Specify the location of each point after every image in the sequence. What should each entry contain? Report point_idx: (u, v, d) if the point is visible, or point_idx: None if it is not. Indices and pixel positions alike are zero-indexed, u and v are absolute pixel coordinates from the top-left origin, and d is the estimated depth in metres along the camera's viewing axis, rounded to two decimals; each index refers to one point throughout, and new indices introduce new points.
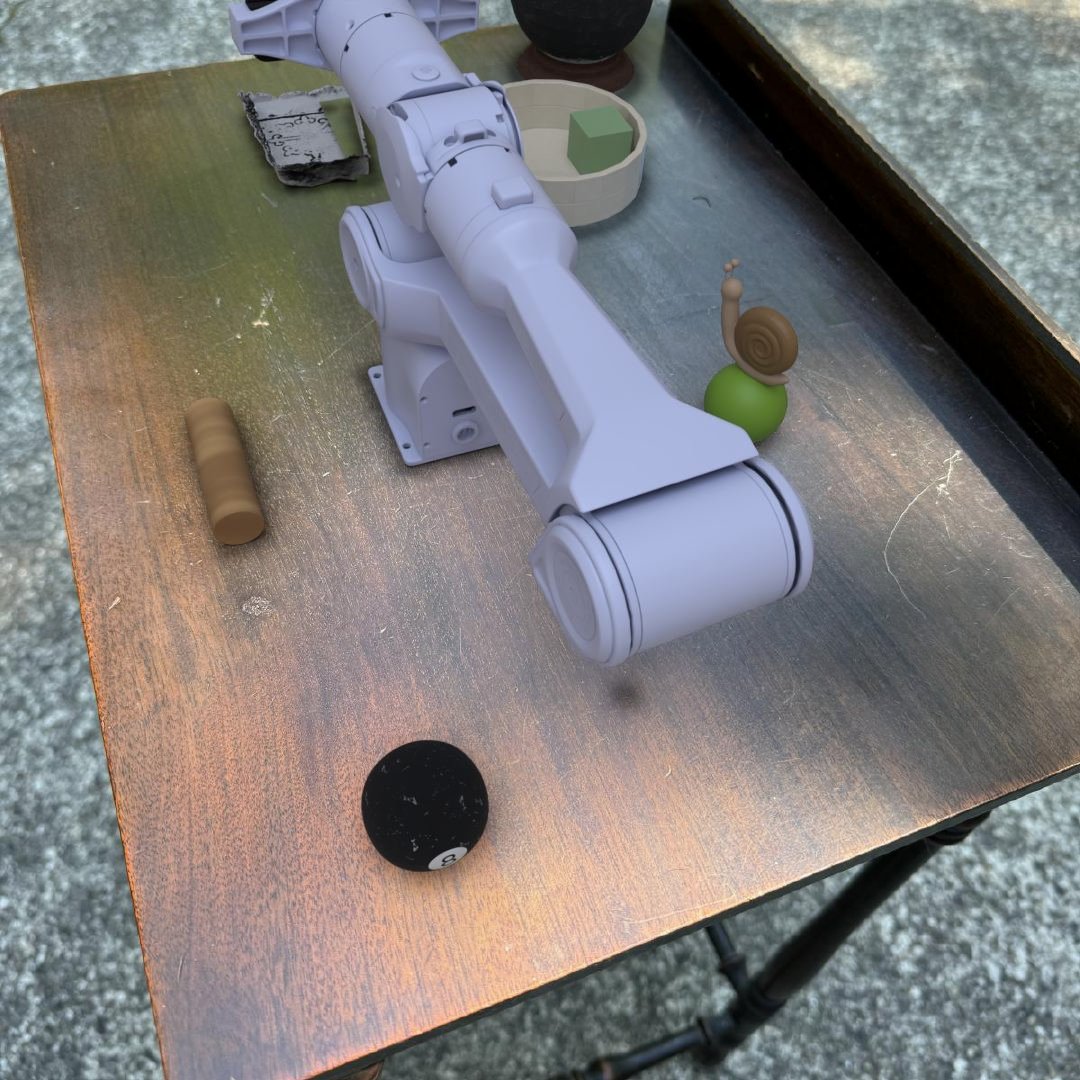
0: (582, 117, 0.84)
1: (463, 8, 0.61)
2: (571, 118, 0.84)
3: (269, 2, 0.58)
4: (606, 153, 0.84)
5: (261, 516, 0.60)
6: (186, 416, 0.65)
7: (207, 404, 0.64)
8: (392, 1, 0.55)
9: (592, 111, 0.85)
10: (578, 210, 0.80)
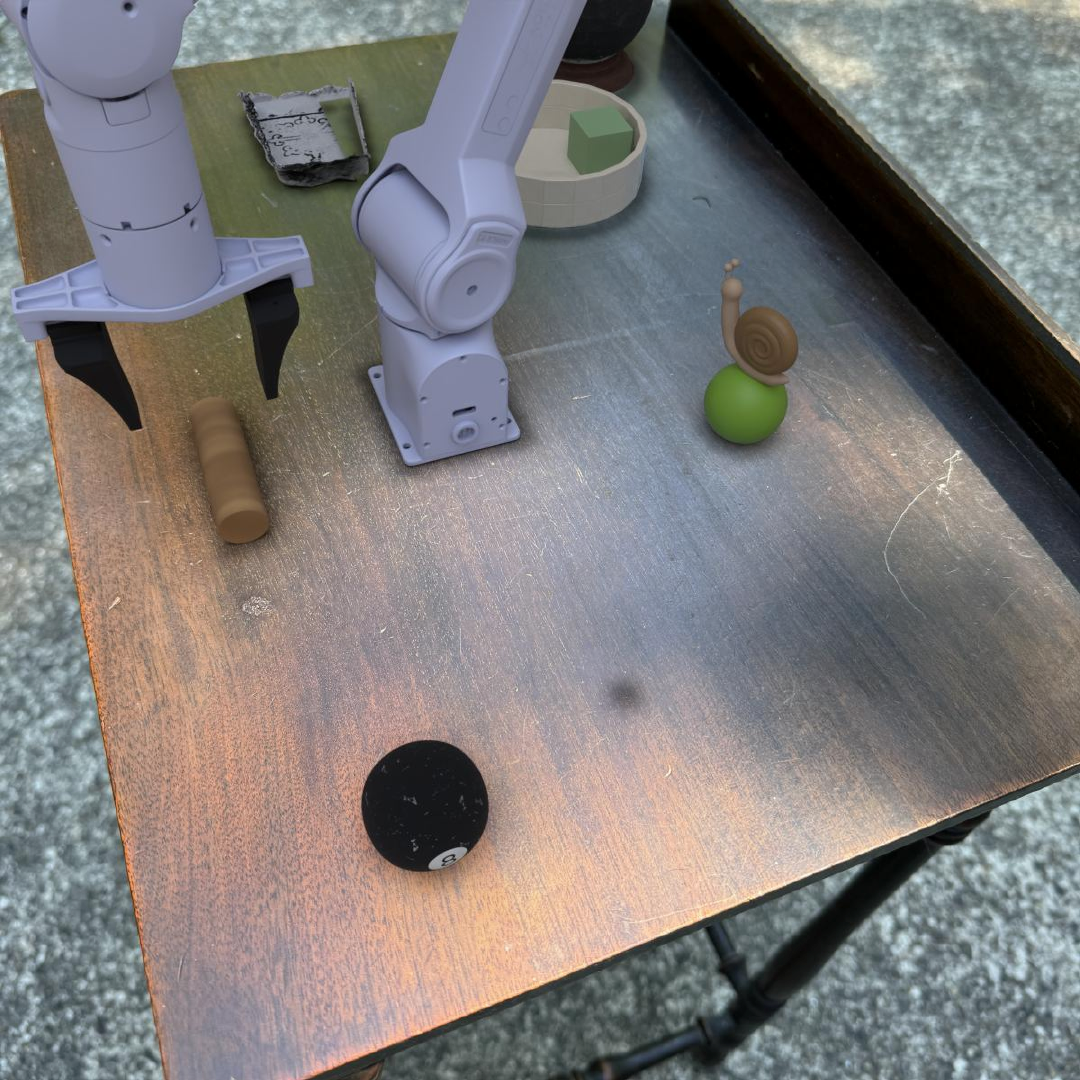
0: (582, 117, 0.84)
1: None
2: (571, 118, 0.84)
3: None
4: (606, 153, 0.84)
5: (267, 517, 0.61)
6: (192, 412, 0.65)
7: (216, 403, 0.65)
8: None
9: (592, 111, 0.85)
10: (578, 210, 0.80)
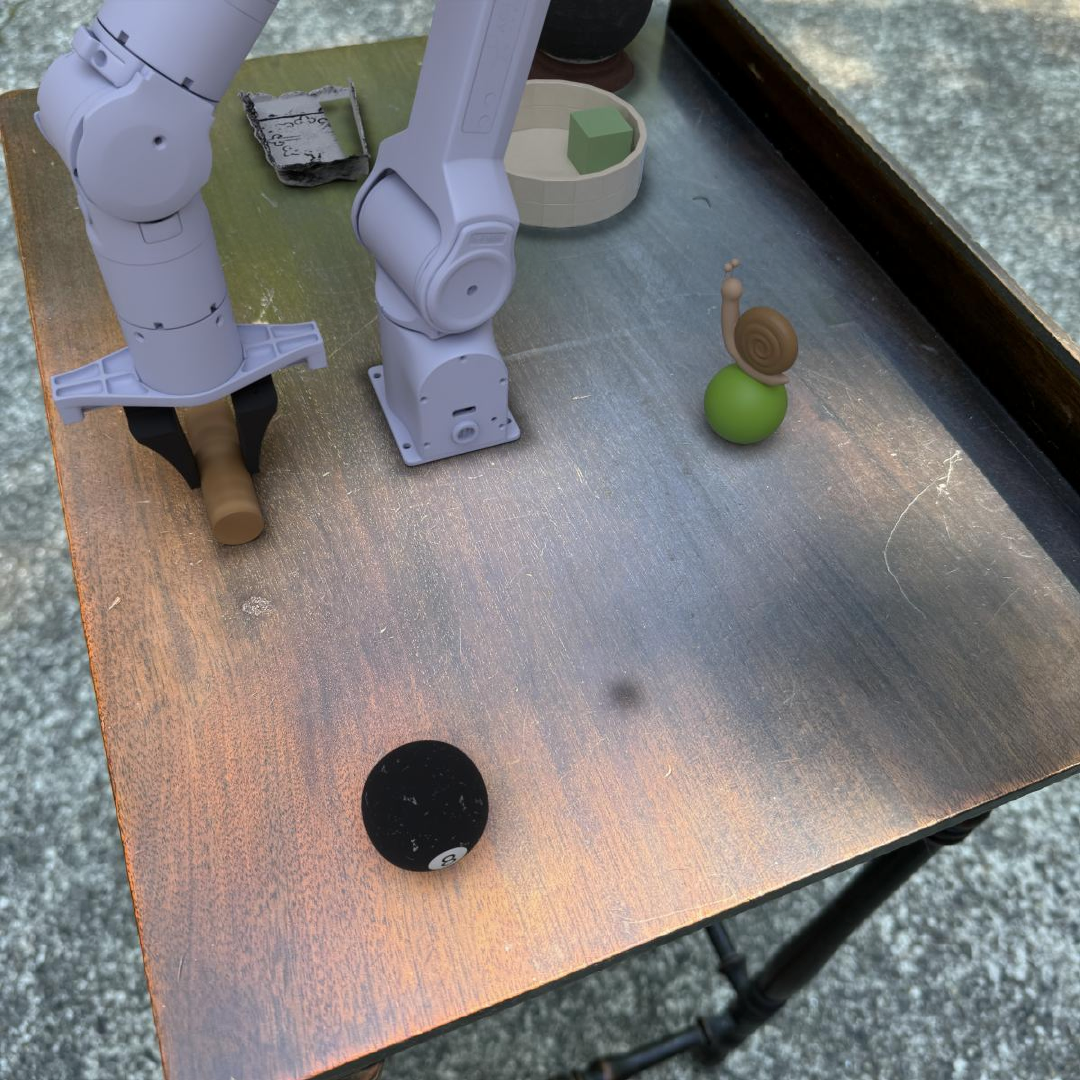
0: (582, 117, 0.84)
1: None
2: (571, 118, 0.84)
3: None
4: (606, 153, 0.84)
5: (262, 519, 0.61)
6: (187, 413, 0.65)
7: (211, 404, 0.65)
8: None
9: (592, 111, 0.85)
10: (578, 210, 0.80)
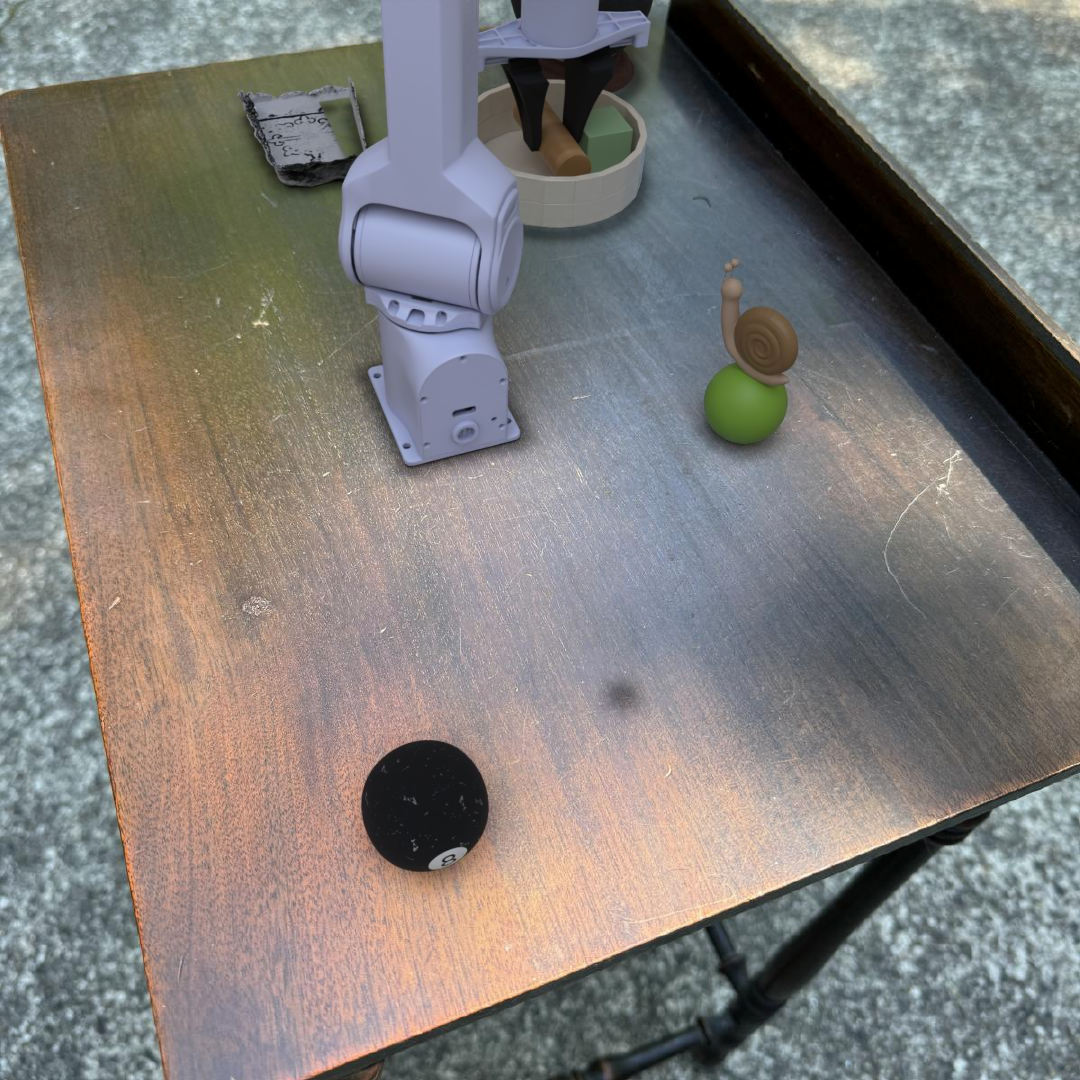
0: None
1: None
2: None
3: None
4: (606, 153, 0.84)
5: None
6: None
7: None
8: None
9: (592, 111, 0.85)
10: (578, 210, 0.80)
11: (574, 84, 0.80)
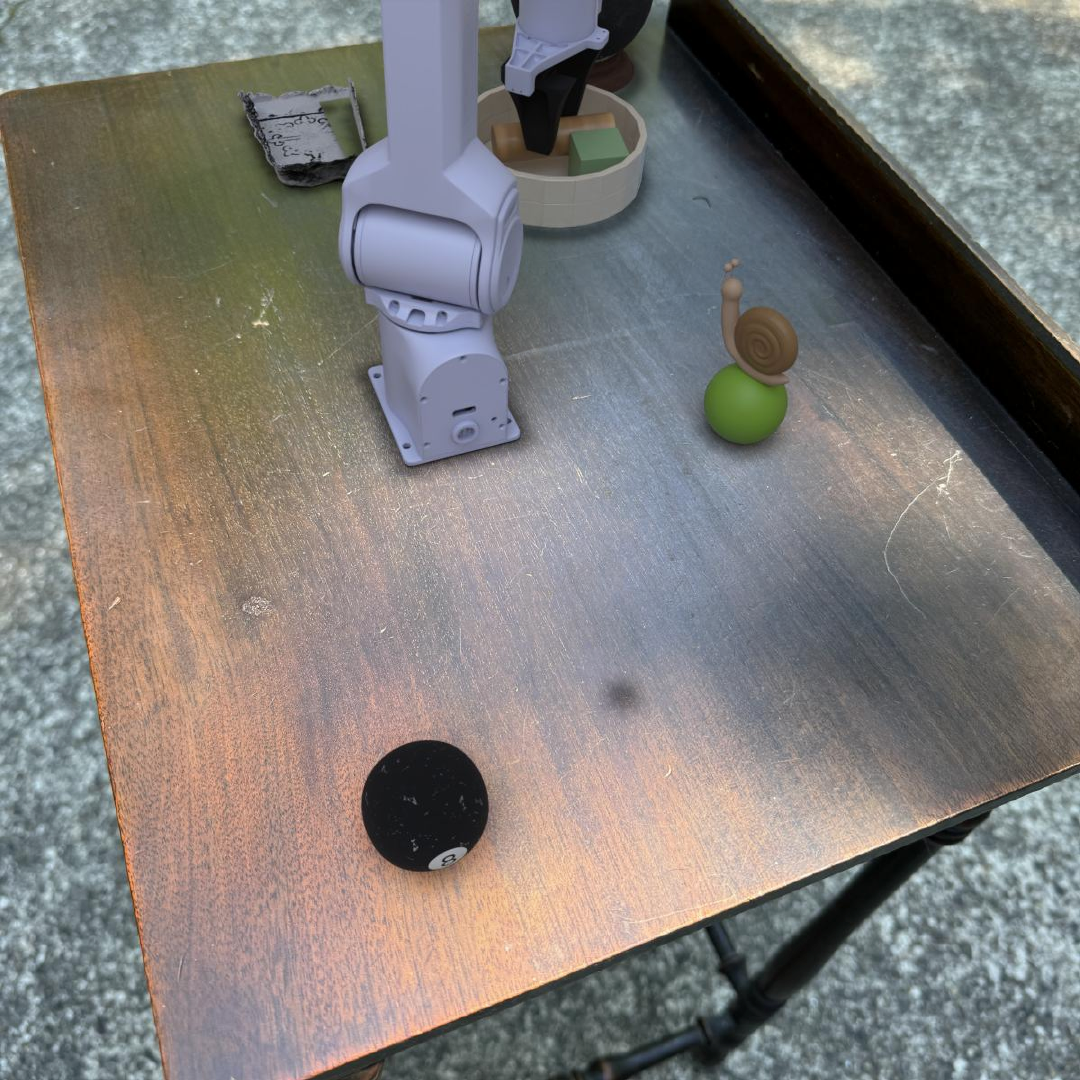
0: (581, 137, 0.82)
1: (525, 68, 0.73)
2: (570, 137, 0.82)
3: None
4: None
5: (498, 157, 0.83)
6: None
7: (607, 122, 0.83)
8: None
9: (593, 132, 0.82)
10: (578, 210, 0.80)
11: None
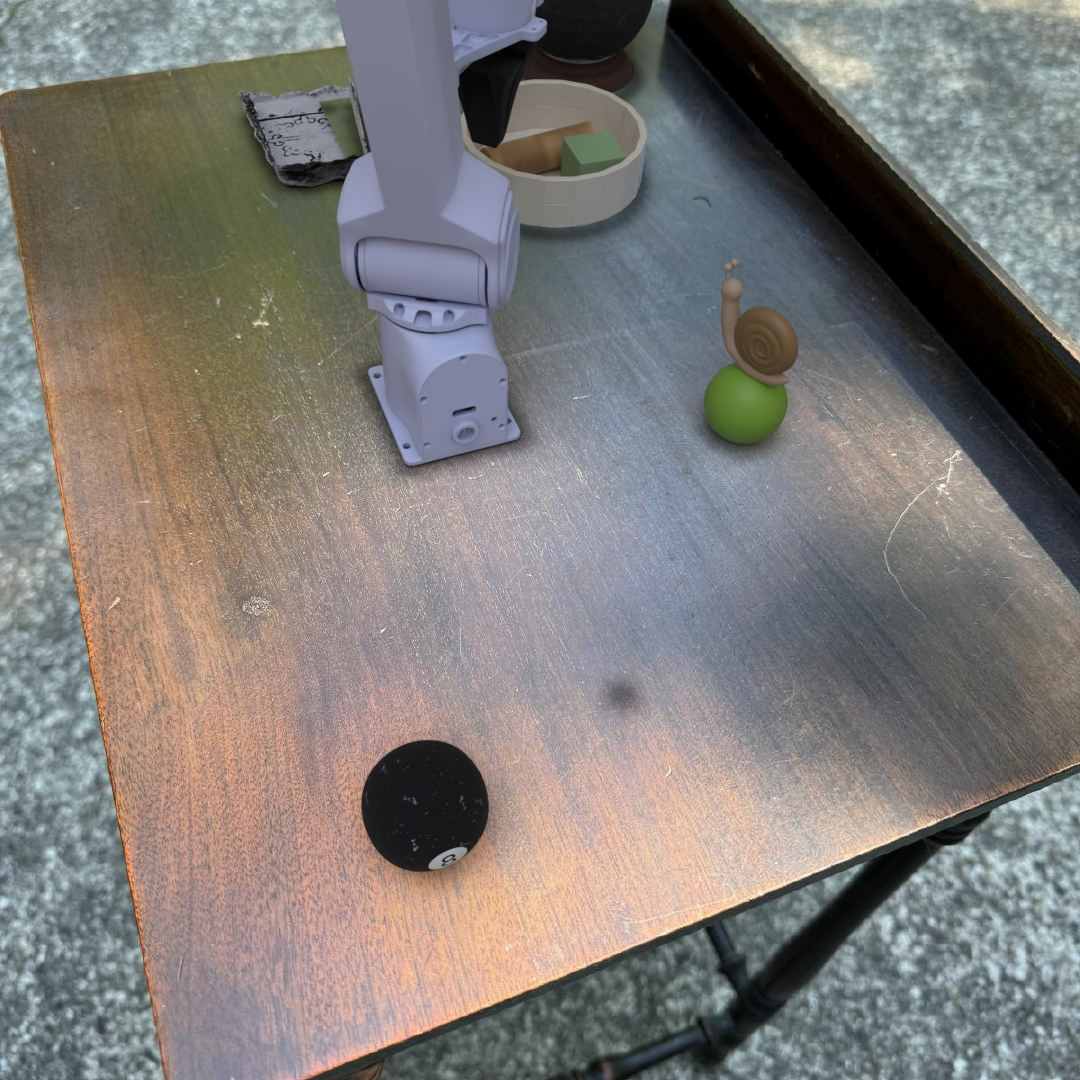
0: (575, 142, 0.82)
1: None
2: (564, 143, 0.82)
3: None
4: None
5: None
6: (590, 128, 0.85)
7: None
8: None
9: (586, 136, 0.82)
10: (578, 210, 0.80)
11: None
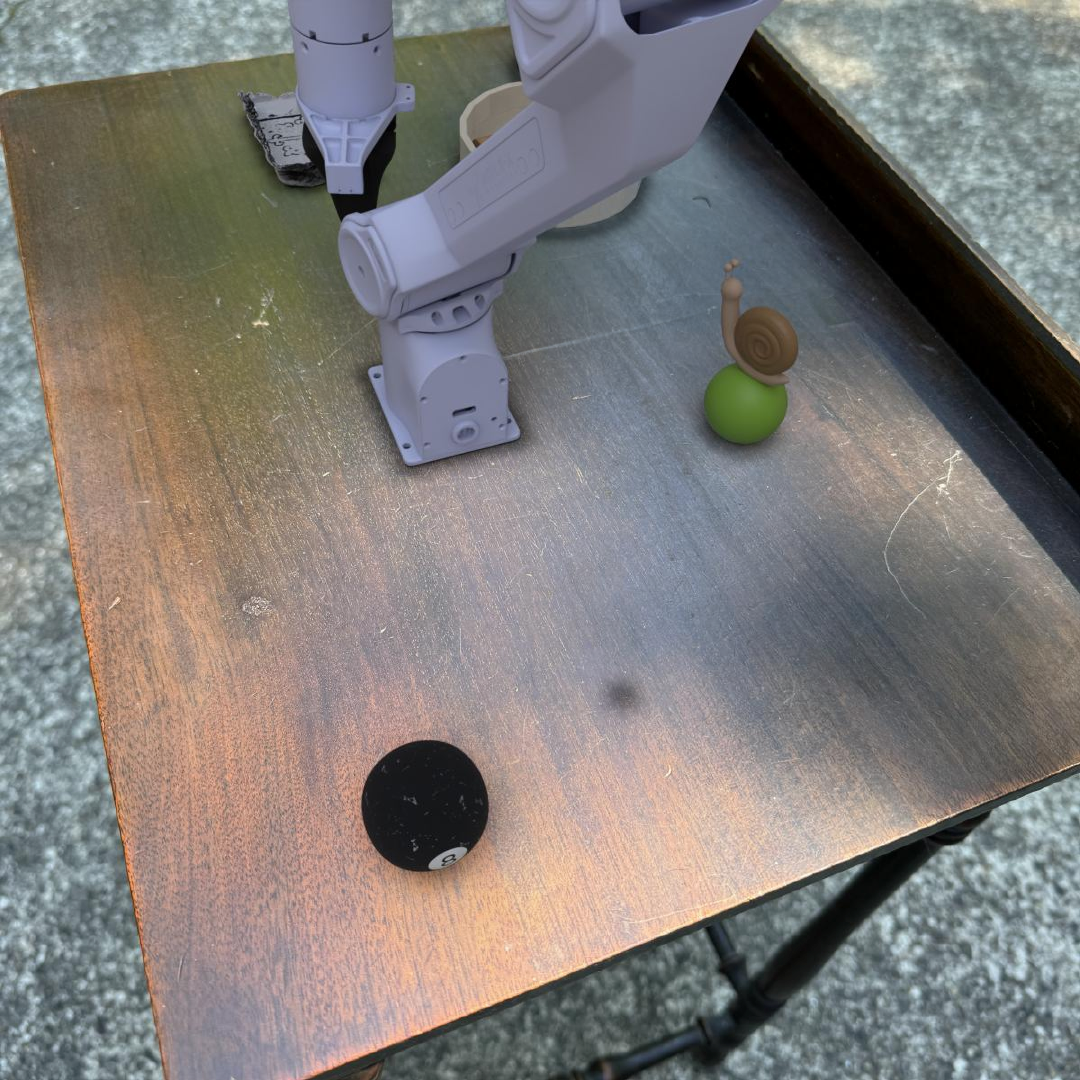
0: None
1: (348, 161, 0.57)
2: None
3: None
4: None
5: None
6: None
7: None
8: (392, 47, 0.58)
9: None
10: None
11: None
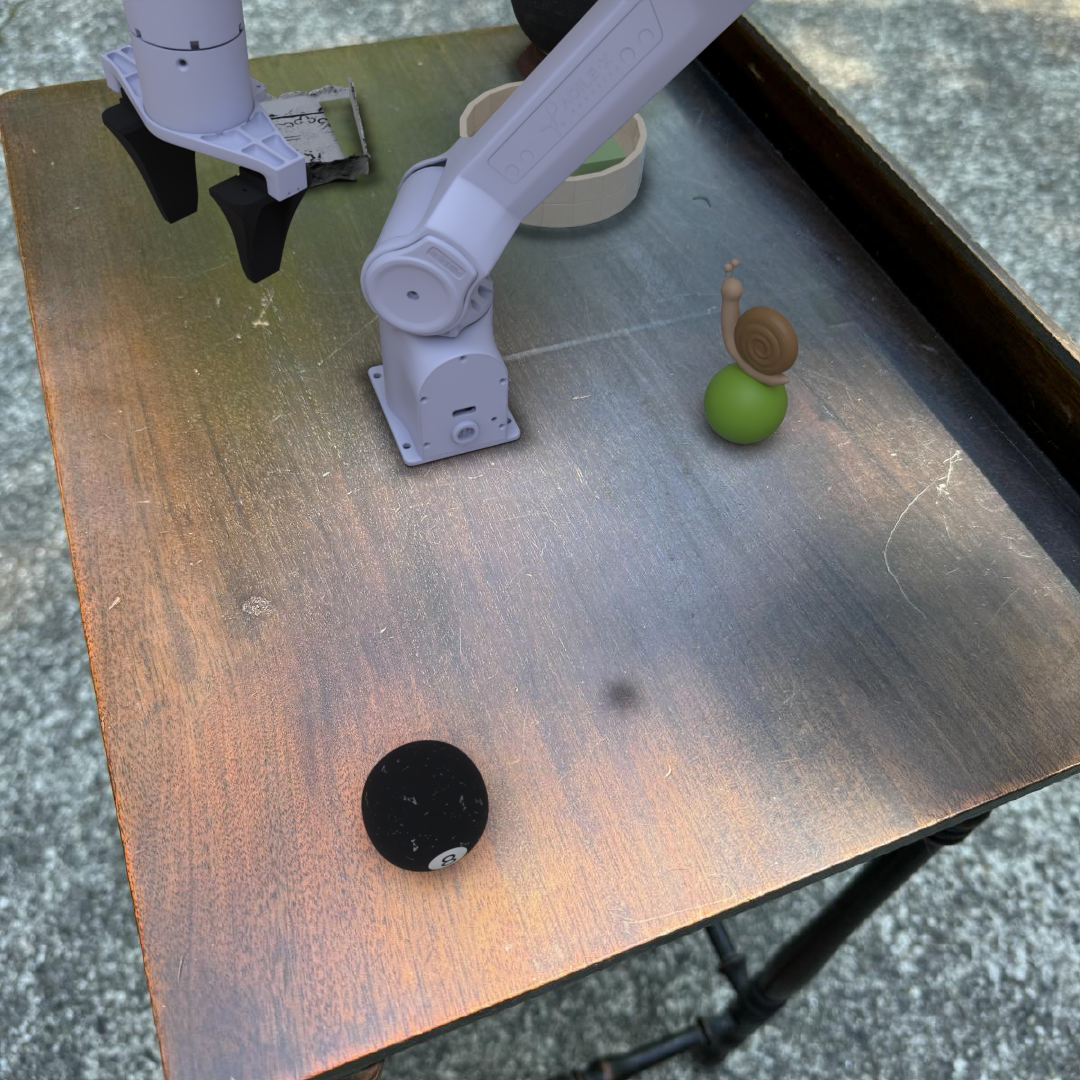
0: None
1: None
2: None
3: None
4: None
5: None
6: None
7: None
8: None
9: None
10: (578, 210, 0.80)
11: None
